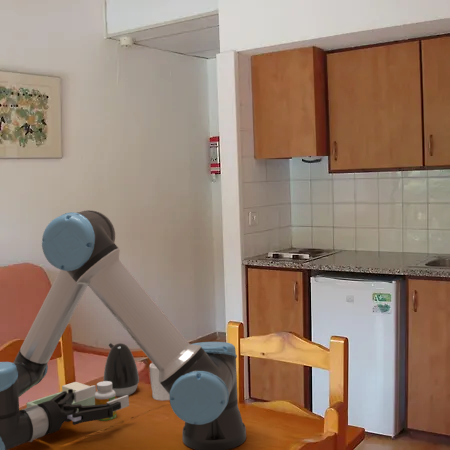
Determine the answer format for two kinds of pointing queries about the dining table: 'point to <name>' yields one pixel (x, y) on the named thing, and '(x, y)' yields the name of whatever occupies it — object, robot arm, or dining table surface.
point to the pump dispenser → (121, 370)
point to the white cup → (157, 385)
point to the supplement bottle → (105, 396)
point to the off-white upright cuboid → (74, 387)
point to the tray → (84, 402)
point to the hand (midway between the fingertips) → (111, 395)
